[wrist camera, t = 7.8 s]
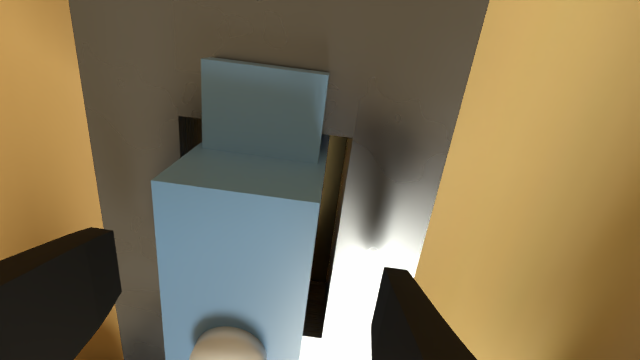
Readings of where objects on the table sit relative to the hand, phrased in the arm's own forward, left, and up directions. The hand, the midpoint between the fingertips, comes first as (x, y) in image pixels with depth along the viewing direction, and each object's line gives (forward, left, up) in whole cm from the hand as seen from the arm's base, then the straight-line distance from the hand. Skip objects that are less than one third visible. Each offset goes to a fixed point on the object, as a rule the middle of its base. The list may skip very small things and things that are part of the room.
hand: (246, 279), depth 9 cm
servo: (0, 0, -5) cm, 5 cm away
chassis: (0, 0, -5) cm, 5 cm away
